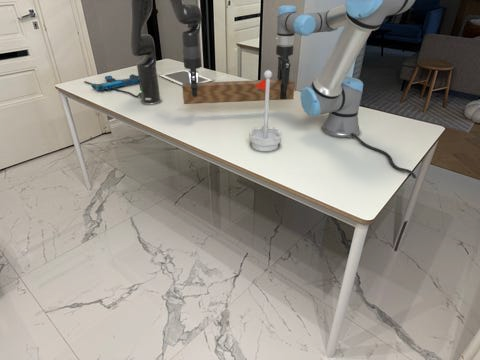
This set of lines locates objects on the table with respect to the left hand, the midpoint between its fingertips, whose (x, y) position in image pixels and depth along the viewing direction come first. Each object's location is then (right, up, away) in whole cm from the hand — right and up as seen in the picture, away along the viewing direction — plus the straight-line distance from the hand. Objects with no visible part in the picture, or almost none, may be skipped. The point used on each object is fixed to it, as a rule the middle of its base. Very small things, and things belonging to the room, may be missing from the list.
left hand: (194, 94), depth 155 cm
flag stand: (+31, -25, -17) cm, 43 cm away
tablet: (-14, +25, +61) cm, 67 cm away
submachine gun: (-53, +20, +53) cm, 77 cm away
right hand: (+41, 0, +6) cm, 41 cm away
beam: (+20, -2, +4) cm, 21 cm away
